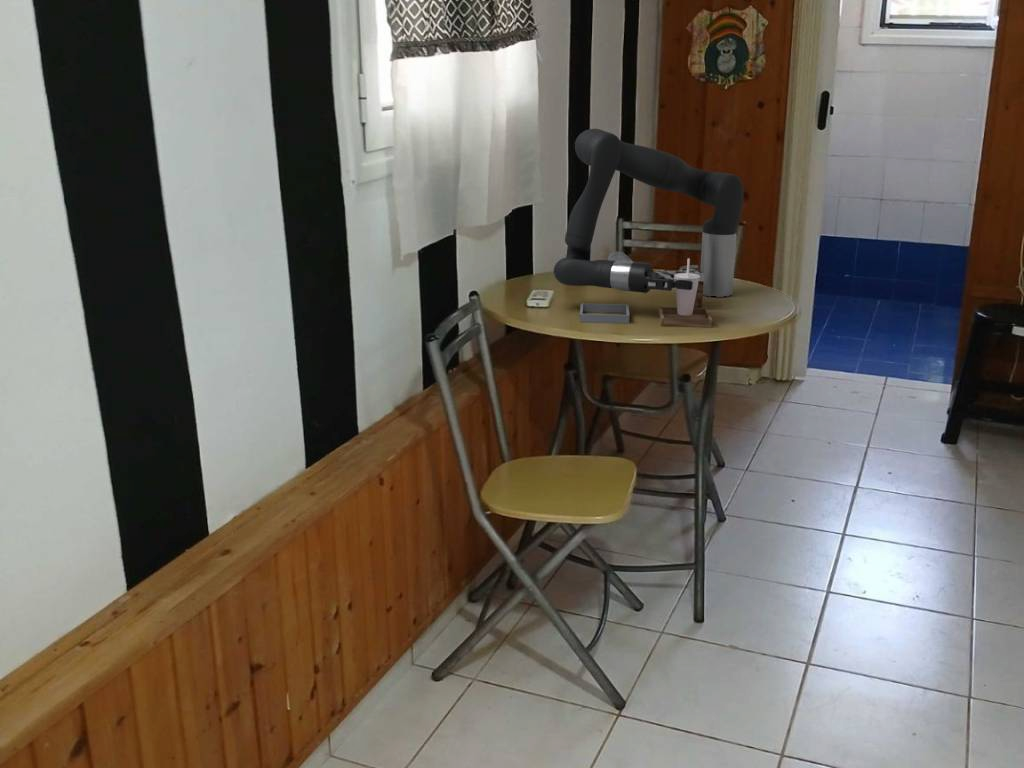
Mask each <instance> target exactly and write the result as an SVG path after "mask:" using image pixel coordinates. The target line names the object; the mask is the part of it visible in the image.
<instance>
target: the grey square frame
mask: <svg viewBox="0 0 1024 768" xmlns="http://www.w3.org/2000/svg"><path fill="white" fill-rule="evenodd" d="M629 306H630V305H629V304H625V303H623V304H622V303H620V304H619V303H618V304H617V303H614V304H613V303H584V302H583V303H580V310H579V323H598V324H600V323H601V324H602V323H603V324H604V323H607V324H630V310H629V309H630V308H629ZM584 312H588V313H584ZM589 312H591V313H589ZM592 312H594V313H592ZM602 313H603V314H602ZM604 313H605V314H604ZM607 313H608V314H607ZM609 313H624V314H609Z"/></svg>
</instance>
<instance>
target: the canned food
mask: <svg viewBox="0 0 1024 768" xmlns="http://www.w3.org/2000/svg"><path fill="white" fill-rule="evenodd" d="M607 260H611V261H632V262H634V261H633V260H632V259H631V258H630V257H629V256H628V255H627V254H625V253H624V252H623V251H617V250H616V251H612V252H610V254H609V255H608V256H607Z"/></svg>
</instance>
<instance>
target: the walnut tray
mask: <svg viewBox="0 0 1024 768" xmlns="http://www.w3.org/2000/svg"><path fill="white" fill-rule="evenodd" d="M658 317H659V322H661V323H660V326H661V327H676V326H679V327H678V328H681V326H687V327H686V328H712V327H713V326H712V324H713V319H712V316H711V314H710V311H709V309H708V308H707V307H702V308H693V313H692V315H679V314H677V306H676V307H675V306H673V307H672V306H669V307H668V306H665V307H664V306H659V307H658Z"/></svg>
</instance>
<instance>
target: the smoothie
mask: <svg viewBox="0 0 1024 768" xmlns="http://www.w3.org/2000/svg"><path fill="white" fill-rule="evenodd" d="M690 259H691V258H690V257H689V258H687V260H686V261H687V263H686V264H687V265H686V266H687V273H679V274H675V275H674V279H677V280H678V279H679V280H689V281H692V282H693V288H692V289H691V290H684V289H675V296H676V298H675V299H676V307H677V314H679V315H692V313H693V308H694V303H695V297H696V292H697V287H698V282H699V281H700V276H699V275H697V274H691V273H689V265H690V263H691V260H690Z"/></svg>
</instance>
